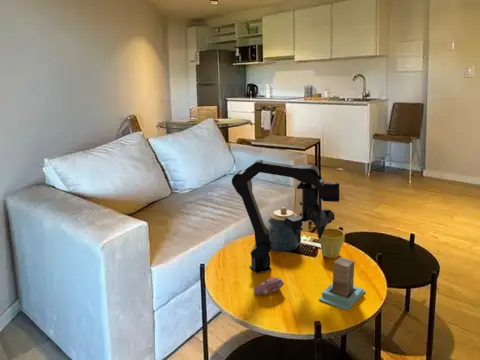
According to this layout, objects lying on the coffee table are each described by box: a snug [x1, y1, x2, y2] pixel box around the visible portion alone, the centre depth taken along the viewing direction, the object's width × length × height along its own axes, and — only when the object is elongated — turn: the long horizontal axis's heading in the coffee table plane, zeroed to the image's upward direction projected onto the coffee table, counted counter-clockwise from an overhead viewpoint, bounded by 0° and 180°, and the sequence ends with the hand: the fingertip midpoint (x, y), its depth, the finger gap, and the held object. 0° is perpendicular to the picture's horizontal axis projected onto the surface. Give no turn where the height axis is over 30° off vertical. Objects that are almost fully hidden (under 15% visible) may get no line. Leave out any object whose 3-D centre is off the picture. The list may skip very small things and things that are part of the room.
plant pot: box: [318, 227, 346, 259], centre depth 169 cm, size 10×10×10 cm
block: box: [332, 256, 355, 298], centre depth 138 cm, size 5×5×12 cm
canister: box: [267, 206, 300, 253], centre depth 177 cm, size 13×13×18 cm
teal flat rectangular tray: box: [318, 282, 366, 311], centre depth 139 cm, size 14×10×2 cm
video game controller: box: [253, 277, 285, 296], centre depth 142 cm, size 10×5×7 cm
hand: (309, 240), depth 153 cm, fingers open, 9 cm apart
